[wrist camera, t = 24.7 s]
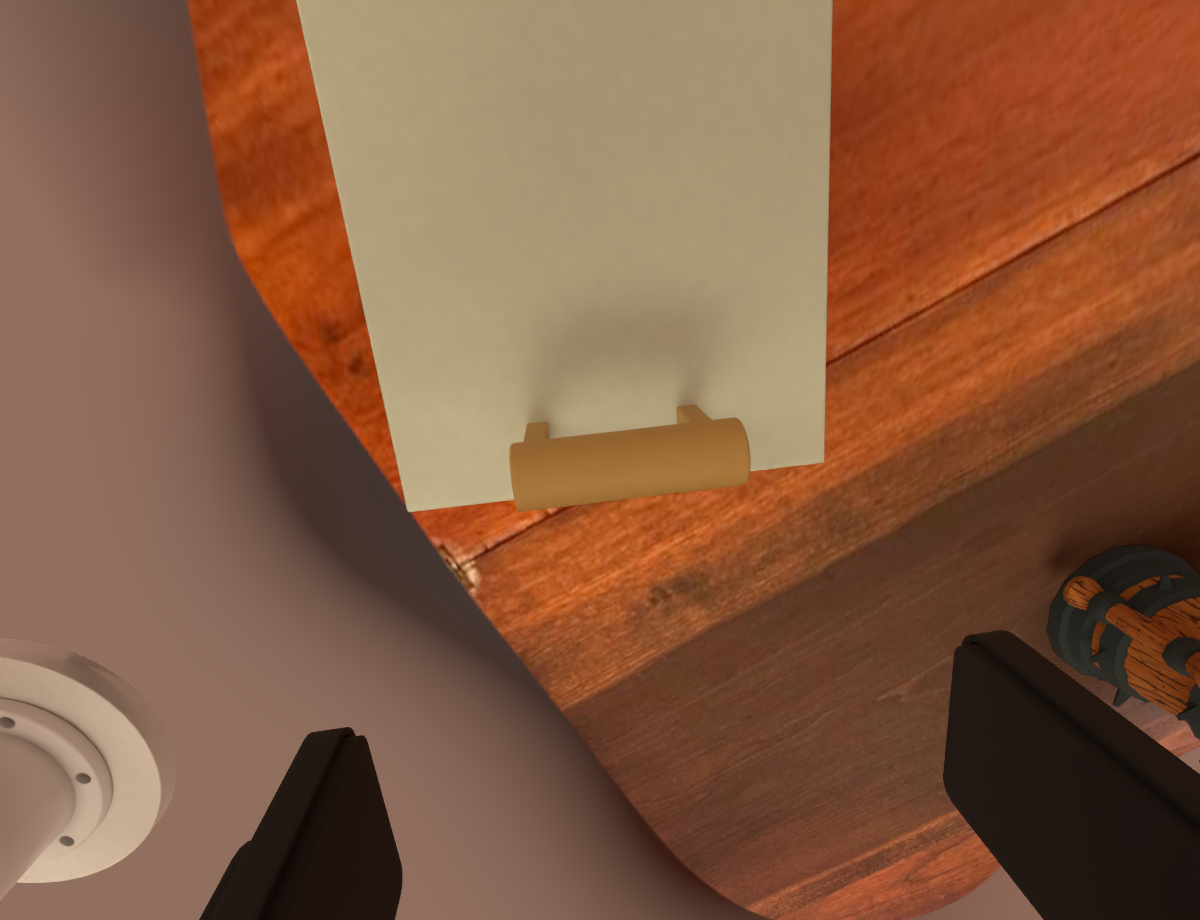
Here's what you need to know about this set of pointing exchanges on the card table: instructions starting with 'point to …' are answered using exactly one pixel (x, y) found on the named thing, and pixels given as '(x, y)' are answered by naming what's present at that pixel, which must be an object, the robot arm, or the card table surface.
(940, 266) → the card table surface
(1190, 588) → the mug
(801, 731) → the card table surface
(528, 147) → the lid
